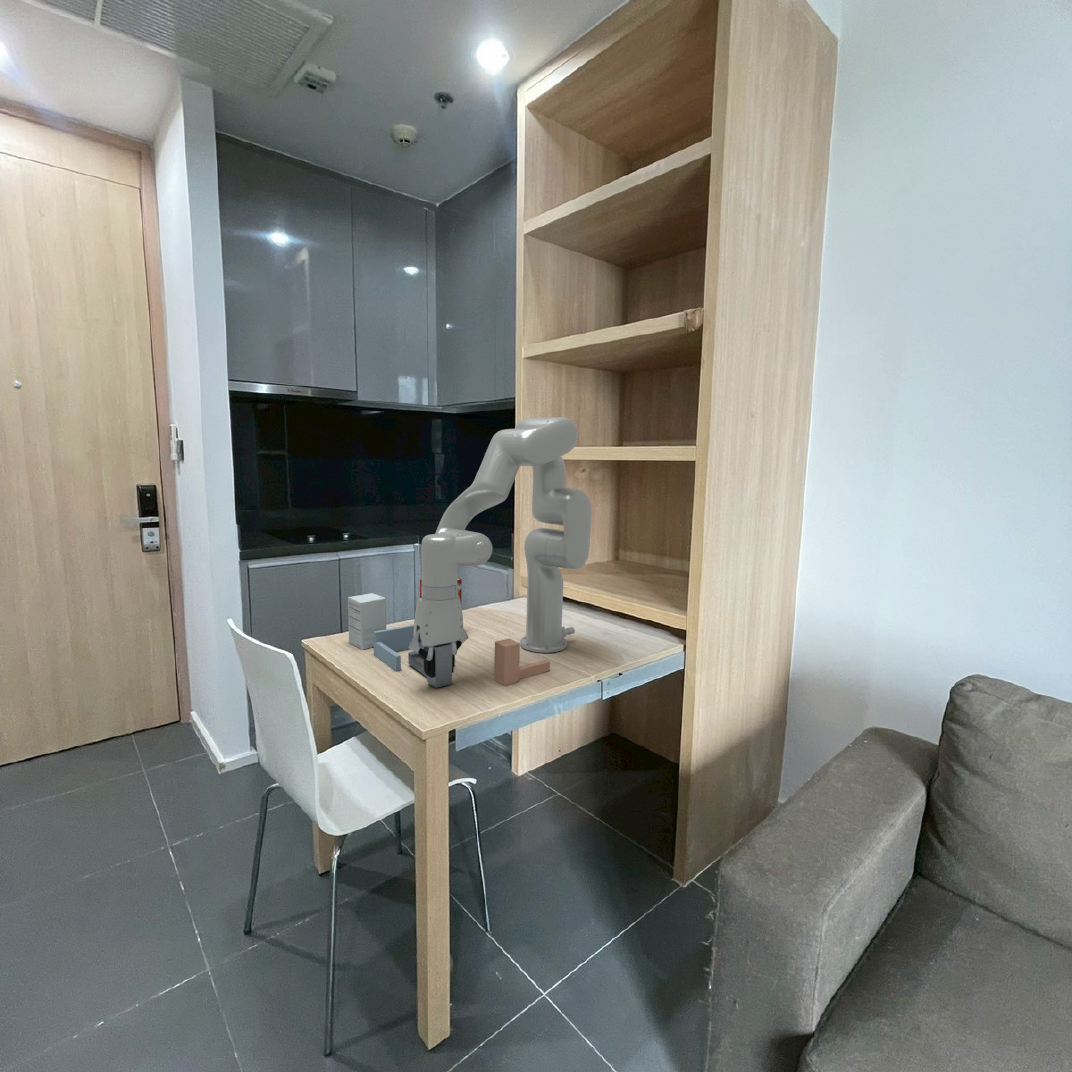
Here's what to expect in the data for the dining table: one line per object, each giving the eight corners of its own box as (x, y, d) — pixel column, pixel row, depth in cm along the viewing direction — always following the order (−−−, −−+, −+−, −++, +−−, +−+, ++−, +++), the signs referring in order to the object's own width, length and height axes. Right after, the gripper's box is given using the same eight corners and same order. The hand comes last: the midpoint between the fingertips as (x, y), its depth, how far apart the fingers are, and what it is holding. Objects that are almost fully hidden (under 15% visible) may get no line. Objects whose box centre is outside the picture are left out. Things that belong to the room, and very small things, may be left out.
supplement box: (373, 637, 153) (372, 592, 151) (387, 644, 148) (386, 597, 146) (347, 643, 148) (347, 596, 146) (361, 650, 142) (360, 602, 141)
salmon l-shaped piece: (504, 685, 123) (505, 646, 122) (494, 680, 126) (494, 641, 125) (553, 672, 131) (554, 635, 130) (542, 667, 135) (543, 631, 133)
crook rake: (475, 677, 126) (475, 639, 125) (435, 687, 120) (435, 647, 118) (441, 656, 138) (441, 621, 137) (403, 664, 132) (403, 628, 131)
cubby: (428, 643, 149) (428, 621, 148) (453, 658, 139) (453, 635, 138) (373, 654, 140) (373, 631, 139) (396, 671, 129) (395, 646, 129)
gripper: (464, 583, 128) (463, 660, 130) (395, 593, 118) (396, 676, 120) (482, 590, 122) (481, 670, 124) (411, 601, 112) (411, 688, 114)
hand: (439, 672), depth 122 cm, fingers closed on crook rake, 4 cm apart
